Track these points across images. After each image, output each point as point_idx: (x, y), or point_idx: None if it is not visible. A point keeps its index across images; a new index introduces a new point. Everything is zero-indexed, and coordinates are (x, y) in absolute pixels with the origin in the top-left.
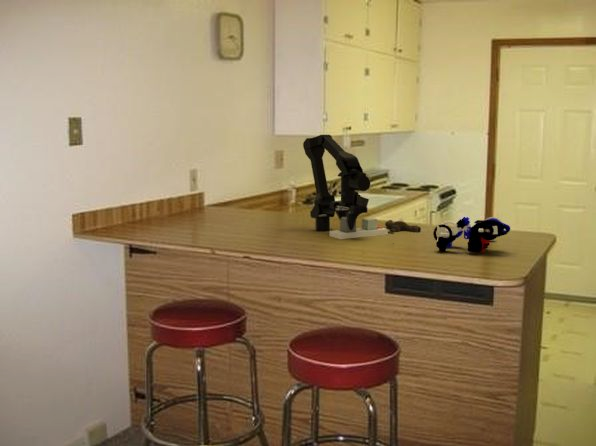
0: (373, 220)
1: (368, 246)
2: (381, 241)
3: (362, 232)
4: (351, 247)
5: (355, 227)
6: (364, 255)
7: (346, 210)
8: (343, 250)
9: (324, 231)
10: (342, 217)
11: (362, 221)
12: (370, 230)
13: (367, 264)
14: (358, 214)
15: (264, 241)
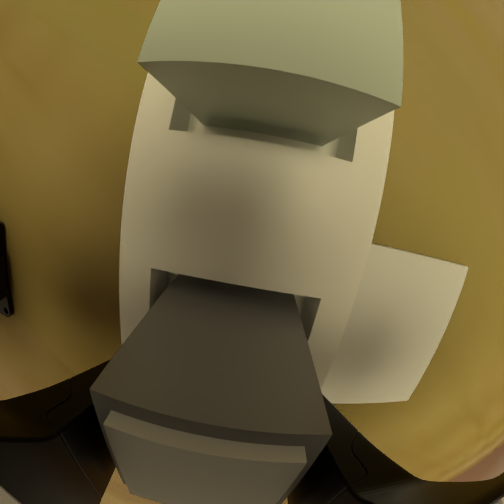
0: (393, 10)
1: (472, 363)
2: (473, 202)
3: (360, 264)
4: (419, 428)
5: (304, 343)
6: (486, 429)
7: (18, 494)
8: (414, 459)
9: (6, 296)
10: (152, 497)
11: (180, 80)
12: (369, 132)
13: (499, 443)
14: (449, 496)
15: (112, 492)
